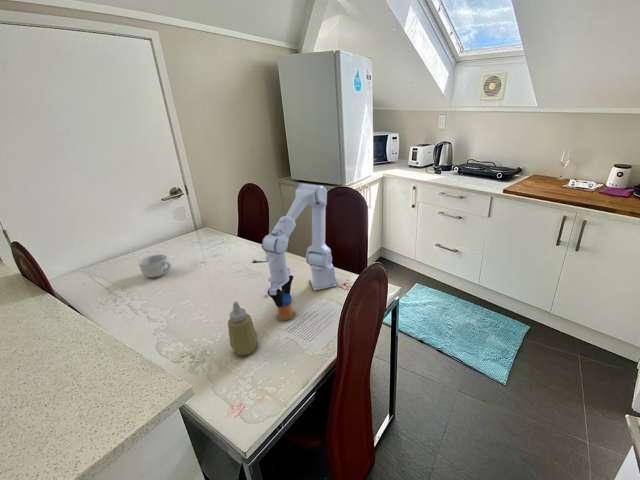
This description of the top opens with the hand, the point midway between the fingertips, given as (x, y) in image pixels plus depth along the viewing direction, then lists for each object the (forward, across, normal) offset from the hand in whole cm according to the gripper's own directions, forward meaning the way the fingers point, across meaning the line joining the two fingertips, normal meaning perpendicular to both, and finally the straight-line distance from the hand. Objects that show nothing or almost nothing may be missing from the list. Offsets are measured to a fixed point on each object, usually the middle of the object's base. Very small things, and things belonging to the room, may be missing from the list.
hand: (283, 300), depth 112 cm
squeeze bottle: (+7, +17, -7) cm, 20 cm away
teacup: (+7, -24, -69) cm, 73 cm away
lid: (-1, 0, 0) cm, 1 cm away
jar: (+7, 0, 0) cm, 7 cm away
